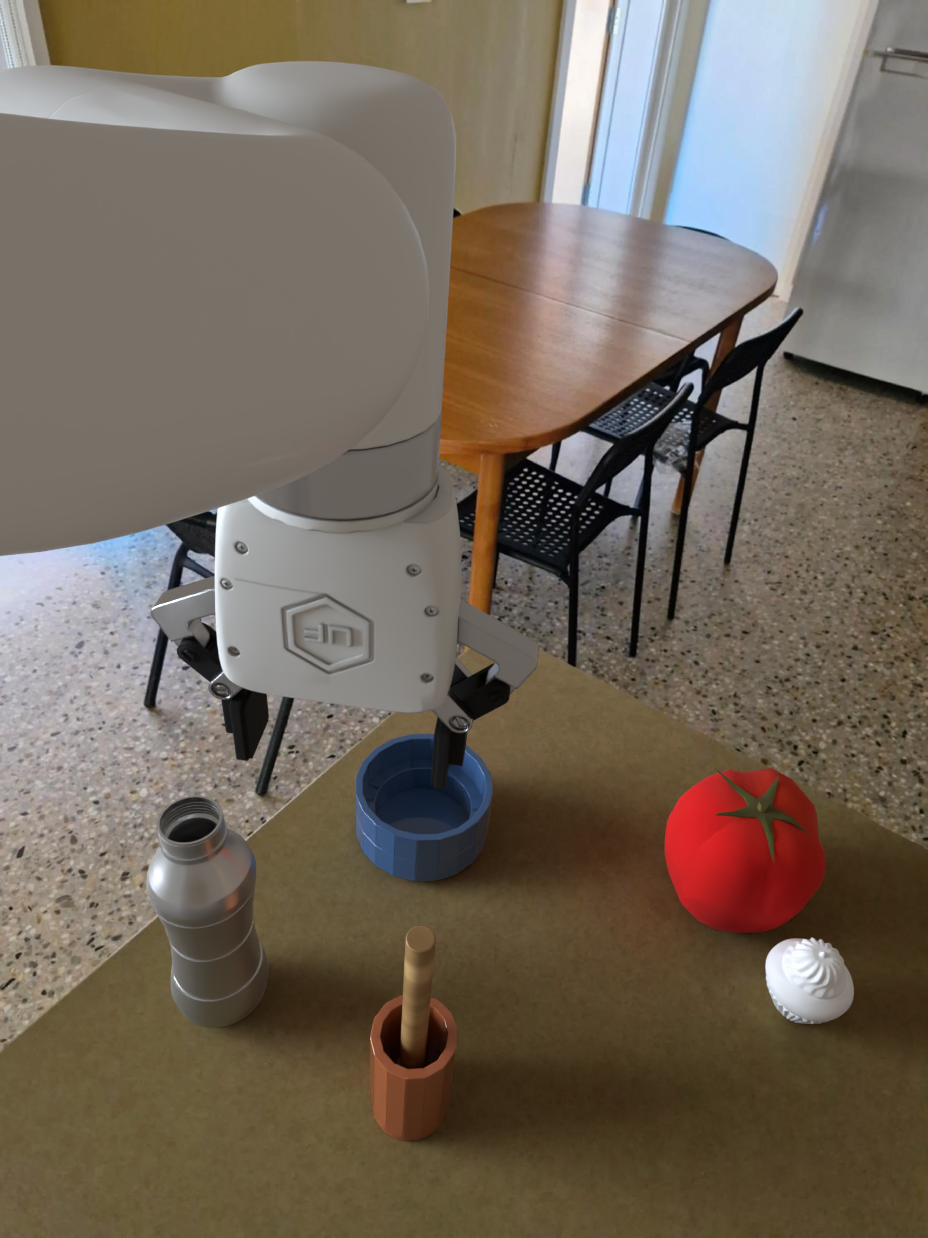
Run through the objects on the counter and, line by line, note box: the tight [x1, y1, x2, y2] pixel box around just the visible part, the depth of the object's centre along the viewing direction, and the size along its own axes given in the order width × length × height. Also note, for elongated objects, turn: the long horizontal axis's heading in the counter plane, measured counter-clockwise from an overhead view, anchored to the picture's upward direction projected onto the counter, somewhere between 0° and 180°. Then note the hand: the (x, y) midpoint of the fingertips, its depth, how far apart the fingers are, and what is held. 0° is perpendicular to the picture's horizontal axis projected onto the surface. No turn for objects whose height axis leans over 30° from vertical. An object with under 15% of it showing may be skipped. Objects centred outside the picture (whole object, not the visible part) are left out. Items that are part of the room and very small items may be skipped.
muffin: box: [764, 937, 855, 1025], centre depth 64 cm, size 6×6×7 cm
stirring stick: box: [397, 925, 437, 1069], centre depth 53 cm, size 2×2×19 cm
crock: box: [369, 994, 459, 1142], centre depth 56 cm, size 5×5×9 cm
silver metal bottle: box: [145, 795, 270, 1029], centre depth 58 cm, size 6×7×20 cm
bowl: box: [355, 733, 494, 882], centre depth 75 cm, size 11×11×6 cm
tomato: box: [664, 767, 827, 934], centre depth 70 cm, size 12×13×12 cm
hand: (347, 753), depth 44 cm, fingers open, 9 cm apart
